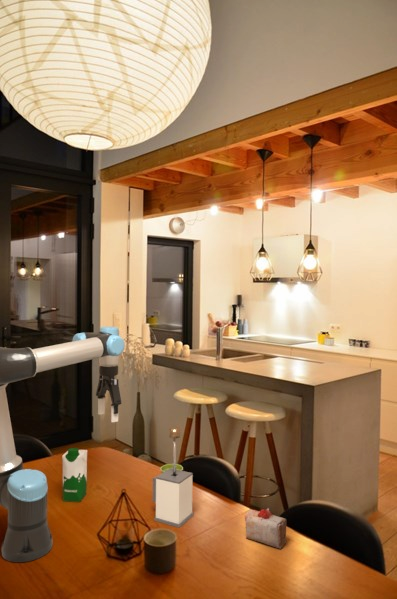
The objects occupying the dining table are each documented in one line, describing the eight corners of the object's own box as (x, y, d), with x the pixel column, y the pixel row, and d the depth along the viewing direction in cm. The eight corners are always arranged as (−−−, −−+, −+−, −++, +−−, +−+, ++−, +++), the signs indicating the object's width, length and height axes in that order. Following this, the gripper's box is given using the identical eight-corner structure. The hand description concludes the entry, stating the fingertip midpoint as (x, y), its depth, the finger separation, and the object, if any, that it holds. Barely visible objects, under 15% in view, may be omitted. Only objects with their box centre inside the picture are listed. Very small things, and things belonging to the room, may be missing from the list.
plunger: (177, 488, 162) (178, 432, 161) (161, 484, 165) (161, 429, 165) (187, 481, 168) (188, 427, 168) (171, 478, 171) (171, 424, 171)
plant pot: (180, 494, 186) (180, 473, 186) (157, 492, 188) (157, 471, 188) (184, 484, 195) (184, 464, 195) (163, 483, 197) (163, 463, 197)
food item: (241, 539, 152) (241, 509, 152) (251, 529, 159) (252, 500, 159) (279, 552, 145) (279, 520, 145) (289, 540, 152) (289, 511, 152)
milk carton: (59, 502, 178) (59, 450, 178) (68, 492, 187) (68, 443, 187) (81, 503, 177) (81, 451, 177) (89, 493, 186) (89, 444, 186)
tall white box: (179, 527, 159) (179, 482, 159) (145, 518, 166) (145, 475, 166) (193, 515, 169) (193, 472, 168) (161, 506, 175) (161, 465, 175)
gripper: (130, 368, 177) (129, 423, 177) (105, 360, 197) (104, 410, 197) (112, 369, 172) (111, 426, 172) (88, 361, 193) (87, 412, 193)
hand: (107, 417), depth 185 cm, fingers open, 13 cm apart
